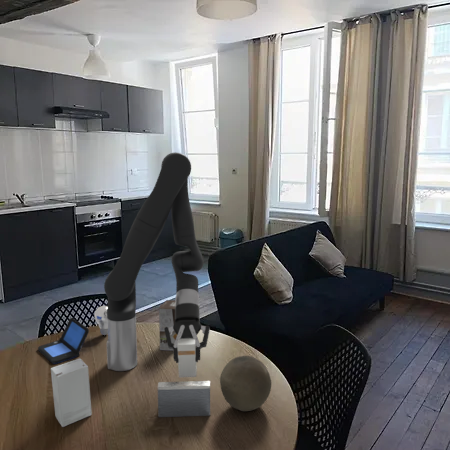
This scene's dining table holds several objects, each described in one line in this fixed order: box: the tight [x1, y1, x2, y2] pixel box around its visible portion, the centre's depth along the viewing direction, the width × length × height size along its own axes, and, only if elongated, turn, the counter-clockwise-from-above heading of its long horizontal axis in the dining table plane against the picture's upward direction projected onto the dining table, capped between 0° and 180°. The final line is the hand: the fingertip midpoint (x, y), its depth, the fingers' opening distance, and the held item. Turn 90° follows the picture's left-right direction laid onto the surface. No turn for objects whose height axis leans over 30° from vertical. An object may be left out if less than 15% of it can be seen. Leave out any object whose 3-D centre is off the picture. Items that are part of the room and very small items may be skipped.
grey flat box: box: [157, 380, 211, 418], centre depth 111 cm, size 14×2×9 cm, turn 93°
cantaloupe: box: [219, 355, 272, 412], centre depth 112 cm, size 14×14×15 cm
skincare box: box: [50, 357, 93, 428], centre depth 109 cm, size 8×6×15 cm
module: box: [177, 338, 197, 379], centre depth 118 cm, size 5×4×10 cm
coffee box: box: [158, 299, 177, 352], centre depth 151 cm, size 9×6×16 cm
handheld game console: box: [37, 317, 90, 365], centre depth 147 cm, size 16×13×9 cm
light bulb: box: [94, 305, 108, 337], centre depth 160 cm, size 7×7×12 cm
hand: (187, 361), depth 117 cm, fingers closed on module, 5 cm apart
